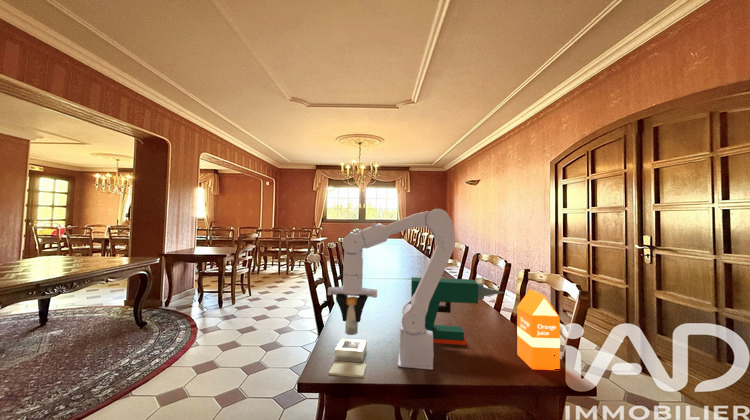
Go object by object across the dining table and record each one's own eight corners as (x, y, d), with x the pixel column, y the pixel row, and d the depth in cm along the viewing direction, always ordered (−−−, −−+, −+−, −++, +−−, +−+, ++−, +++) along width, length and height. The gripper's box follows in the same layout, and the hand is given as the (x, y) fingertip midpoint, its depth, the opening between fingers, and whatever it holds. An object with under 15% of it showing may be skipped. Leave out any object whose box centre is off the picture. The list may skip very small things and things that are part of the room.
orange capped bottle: (358, 330, 85) (359, 296, 86) (356, 335, 82) (357, 299, 82) (346, 329, 86) (347, 296, 86) (343, 334, 82) (344, 299, 82)
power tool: (501, 338, 99) (501, 280, 100) (508, 347, 92) (508, 284, 93) (409, 333, 102) (409, 276, 103) (409, 341, 95) (410, 280, 96)
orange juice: (542, 355, 87) (542, 289, 88) (560, 370, 78) (560, 296, 79) (516, 354, 87) (516, 288, 88) (531, 369, 78) (531, 295, 79)
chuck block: (366, 350, 88) (366, 340, 88) (362, 362, 80) (362, 351, 80) (341, 348, 89) (341, 338, 89) (334, 360, 81) (334, 349, 81)
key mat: (366, 365, 78) (366, 363, 78) (363, 377, 72) (363, 375, 72) (334, 363, 79) (334, 361, 79) (328, 374, 73) (328, 372, 73)
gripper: (378, 272, 87) (377, 317, 87) (332, 270, 89) (331, 314, 89) (375, 277, 80) (374, 326, 80) (326, 274, 82) (324, 322, 82)
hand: (351, 320), depth 84 cm, fingers closed on orange capped bottle, 4 cm apart
